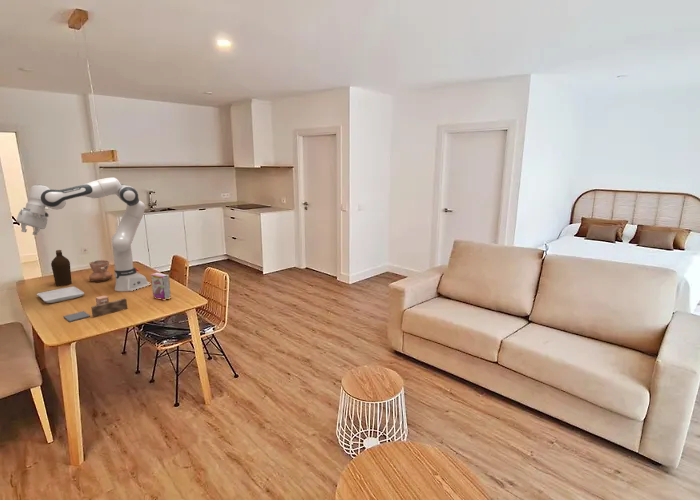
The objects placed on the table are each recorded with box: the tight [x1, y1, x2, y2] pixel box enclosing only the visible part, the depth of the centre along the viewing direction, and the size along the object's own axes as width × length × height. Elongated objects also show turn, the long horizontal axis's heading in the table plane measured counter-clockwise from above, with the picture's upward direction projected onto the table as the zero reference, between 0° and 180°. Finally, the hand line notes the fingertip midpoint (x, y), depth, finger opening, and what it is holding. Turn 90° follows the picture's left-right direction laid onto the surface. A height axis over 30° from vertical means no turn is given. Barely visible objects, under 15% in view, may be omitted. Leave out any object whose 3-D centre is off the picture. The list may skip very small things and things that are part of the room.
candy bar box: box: [150, 272, 172, 299], centre depth 250 cm, size 11×5×16 cm, turn 65°
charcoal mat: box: [63, 310, 91, 323], centre depth 219 cm, size 10×10×1 cm
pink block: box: [95, 294, 110, 306], centre depth 230 cm, size 5×5×8 cm
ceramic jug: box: [88, 259, 113, 283], centre depth 284 cm, size 18×14×14 cm
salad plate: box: [36, 286, 85, 304], centre depth 249 cm, size 21×21×3 cm
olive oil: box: [50, 249, 73, 287], centre depth 271 cm, size 11×11×25 cm
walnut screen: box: [91, 298, 128, 318], centre depth 226 cm, size 18×2×6 cm, turn 142°
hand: (29, 233), depth 229 cm, fingers open, 8 cm apart
